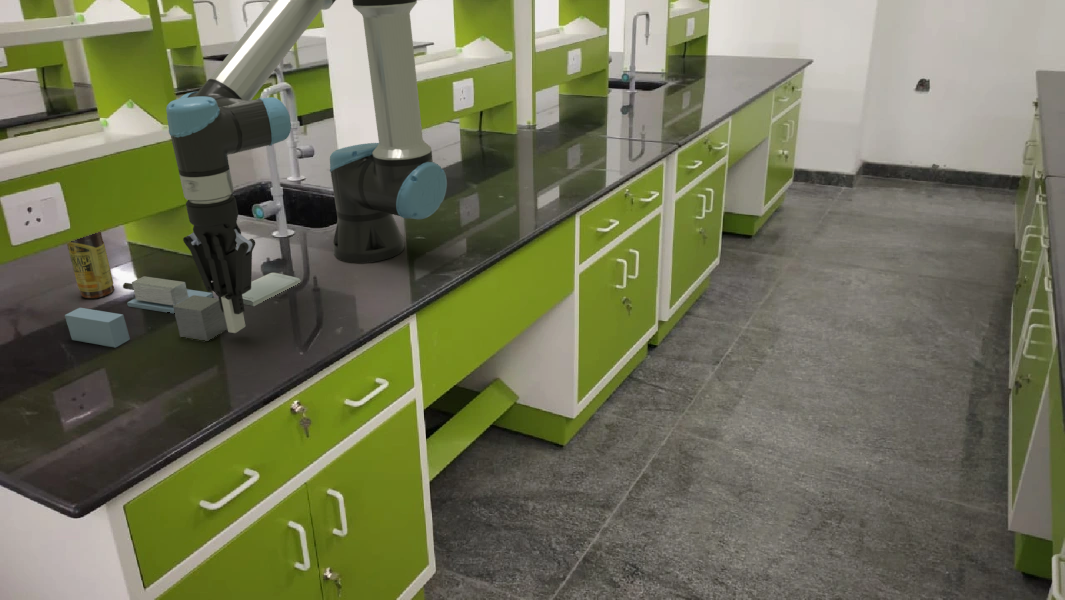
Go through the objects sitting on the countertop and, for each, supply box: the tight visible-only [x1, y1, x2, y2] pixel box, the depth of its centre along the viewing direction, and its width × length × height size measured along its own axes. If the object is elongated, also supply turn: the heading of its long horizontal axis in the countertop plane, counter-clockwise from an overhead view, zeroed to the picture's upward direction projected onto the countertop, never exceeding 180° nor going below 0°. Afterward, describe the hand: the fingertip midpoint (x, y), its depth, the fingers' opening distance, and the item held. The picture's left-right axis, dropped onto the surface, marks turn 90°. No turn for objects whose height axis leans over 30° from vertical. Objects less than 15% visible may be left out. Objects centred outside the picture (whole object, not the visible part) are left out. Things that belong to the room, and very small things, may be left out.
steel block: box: [173, 295, 228, 342], centre depth 141 cm, size 6×5×6 cm
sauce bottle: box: [66, 231, 115, 299], centre depth 156 cm, size 7×6×20 cm
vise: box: [64, 288, 214, 348], centre depth 149 cm, size 13×23×5 cm, turn 159°
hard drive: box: [242, 272, 302, 307], centre depth 159 cm, size 2×8×12 cm
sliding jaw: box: [122, 275, 189, 306], centre depth 153 cm, size 14×3×4 cm, turn 69°
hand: (236, 329), depth 139 cm, fingers closed
